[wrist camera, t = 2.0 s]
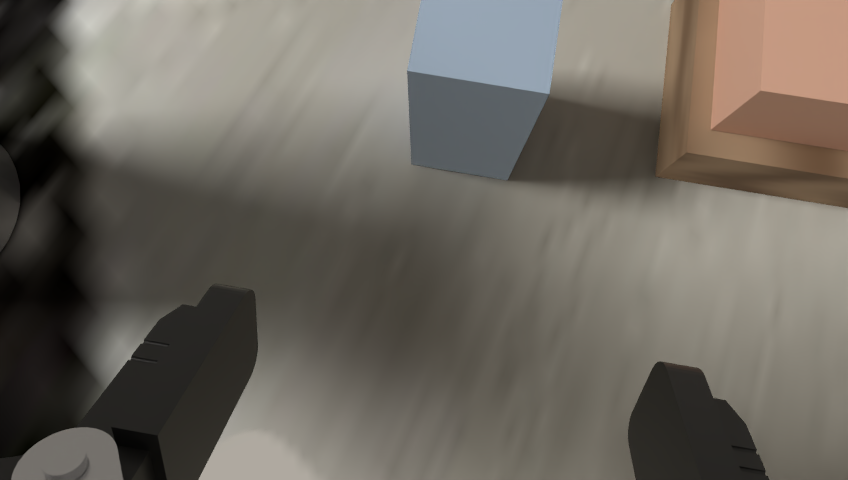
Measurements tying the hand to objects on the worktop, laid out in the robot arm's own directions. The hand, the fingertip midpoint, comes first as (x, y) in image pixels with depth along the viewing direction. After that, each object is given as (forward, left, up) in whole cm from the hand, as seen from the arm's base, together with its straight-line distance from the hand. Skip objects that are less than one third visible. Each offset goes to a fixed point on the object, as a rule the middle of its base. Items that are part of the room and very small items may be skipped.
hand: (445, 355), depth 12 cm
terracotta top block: (+15, +16, -13) cm, 26 cm away
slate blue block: (0, +12, -17) cm, 21 cm away
